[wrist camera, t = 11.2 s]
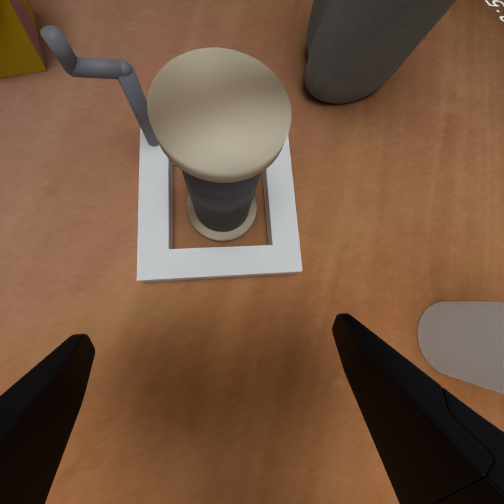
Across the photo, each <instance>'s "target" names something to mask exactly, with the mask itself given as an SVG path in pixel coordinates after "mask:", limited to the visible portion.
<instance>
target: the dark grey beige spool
mask: <svg viewBox="0 0 504 504" xmlns="http://www.w3.org/2000/svg"><path fill="white" fill-rule="evenodd" d="M147 111H148V117H149V121H150V124H151V126H152V129H153V131H154V134H155V136H156V139H157V141H158V143H159V146H160V147H161V149H162V151H163V152H164V154H165V155H166V156H167V157H168V159H169V160H170V161H171V162H172V163H174V164H175V165H176V166H177V167H178V168H180V169H181V170H182V172H183V175H184V179H185V182H186V185H187V188H188V191H189V195H188V198H187V206H186V207H187V214H188V217H189V219H190V222H191V224H192V226H193V227H194V228H195V230H196V231H197V232H198V233H199V234H200V235H202V236H203V237H205V238H207V239H209V240H212V241H216V242H229V241H233V240H235V239H238V238H240V237H241V236H243V235H244V234H245V233H246V232H247V231H248V230H249V229H250V227H251V226H252V224H253V221H254V219H255V216H256V211H257V204H256V199H255V196H254V194H255V190H256V187H257V184H258V180H259V177H260V174H261V172H263V171H264V170H266V169H267V168H268V167H269V166H270V165H271V164H272V163H273V162H274V161H275V160H276V158H277V157H278V155H279V154H280V152H281V150H282V147H283V145H284V142H285V140H286V137H287V135H288V132H289V129H290V125H291V105H290V101H289V97H288V95H287V92H286V90H285V88H284V86H283V84H282V83H281V81H280V80H279V79H278V77H277V76H276V75H275V74H274V73H273V72H272V71H271V70H270V69H269V68H268V67H267V66H266V65H264V64H263V63H261V62H260V61H258V60H257V59H255V58H253V57H251V56H249V55H247V54H244V53H242V52H238V51H235V50H231V49H226V48H202V49H196V50H192V51H189V52H186V53H183V54H181V55H179V56H177V57H175V58H174V59H172V60H171V61H169V62H168V63H167V64H166V65H165V66H164V67H162V68H161V70H160V71H159V72H158V73H157V75H156V76H155V78H154V80H153V81H152V84H151V86H150V89H149V93H148V97H147Z"/></svg>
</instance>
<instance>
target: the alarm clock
mask: <svg viewBox="0 0 504 504" xmlns="http://www.w3.org/2000/svg"><path fill="white" fill-rule="evenodd" d="M43 71H47V70H46V65H45V61H44V57H43V52H42V48H41V43H40V39H39V35H38V30H37V26H36V22H35V17H34V13H33V10H32V8H31V6H30V4H29V2H28V0H0V78H1V77H8V76H15V75H22V74H29V73H36V72H43Z"/></svg>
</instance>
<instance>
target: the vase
mask: <svg viewBox="0 0 504 504" xmlns="http://www.w3.org/2000/svg"><path fill="white" fill-rule="evenodd" d="M455 1H456V0H314V2H313V6H312V11H311V15H310V20H309V25H308V30H307V50H308V57H309V58H308V61H307V65H306V68H305V76H304V79H305V85H306V88H307V90H308V91H309V92H310V94H311V95H313V96H314V97H315V98H317V99H318V100H321V101H323V102H327V103H337V104H340V103H348V102H352V101H356V100H359V99H361V98H363V97H365V96H367V95H369V94H371V93H372V92H374V91H375V90H377V89H378V88H379V87H380V86H382V85H383V84H384V83H385V82H386V81H387V80H388V79H389V78H390V77H391V76H392V75H393V73H394V72H395V71H396V70H397V69H398V68H399V66H400V65H401V64H402V63H403V62H404V61H405V59H406V58H407V57H408V56H409V55H410V53H411V52H412V51H413V50H414V49H415V48H416V46H417V45H418V44H419V43H420V42H421V41H422V39H423V38H424V37H425V36H426V35H427V34H428V32H429V31H430V30H431V29H432V28H433V27H434V25H435V24H436V23H437V22H438V21H439V20H440V19H441V17H442V16H443V15H444V14H445V13H446V12H447V10H448V9H449V8H450V7H451V6H452V5H453V3H454V2H455Z"/></svg>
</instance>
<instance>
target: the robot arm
mask: <svg viewBox="0 0 504 504" xmlns="http://www.w3.org/2000/svg"><path fill="white" fill-rule="evenodd" d="M332 332H333V336H334V339H335V343H336V346H337V349H338V352H339V356H340V359H341V362H342V365H343V368H344V371H345V374H346V377H347V379H348V381H349V384H350V386H351V389H352V391H353V393H354V396H355V398H356V401H357V403H358V405H359V408H360V410H361V412H362V415H363V417H364V420H365V422H366V424H367V427H368V429H369V431H370V434H371V436H372V439H373V441H374V443H375V446H376V448H377V451H378V453H379V455H380V458H381V460H382V462H383V465H384V467H385V470H386V472H387V474H388V477H389V479H390V481H391V484H392V486H393V489H394V491H395V493H396V496H397V498H398V501H399V503H400V504H504V432H503V431H501V430H500V429H498V428H497V427H496V426H494V425H493V424H491V423H490V422H489V421H487V420H486V419H484V418H483V417H482V416H480V415H479V414H477V413H476V412H475V411H473V410H472V409H471V408H469V407H468V406H467V405H465V404H464V403H463V402H461V401H460V400H459V399H457V398H456V397H455V396H454V395H452V394H451V393H450V392H448V391H447V390H446V389H445V388H443V387H442V388H441V385H439V384H438V383H437V382H436V381H434V380H433V379H432V378H430V377H429V376H428V375H427V374H425V373H424V372H423V371H421V370H420V369H419V368H418V367H416V366H415V365H414V364H413V363H411V362H410V361H409V360H407V359H406V358H405V357H404V356H402V355H401V354H400V353H398V352H397V351H396V350H395V349H393V348H392V347H391V346H390V345H388V344H387V343H386V342H384V341H383V340H382V339H381V338H379V337H378V336H377V335H375V334H374V333H373V332H372V331H370V330H369V329H368V328H366V327H365V326H364V325H363V324H361V323H360V322H359V321H358V320H356V319H355V318H354V317H352V316H351V315H350V314H348V313H342V314H338V315H337V316H336V318H335V321H334V324H333V327H332ZM94 356H95V348H94V346H93V344H92V342H91V340H90V338H89V336H88V335H87V334H75V335H72V336H70V337H69V338H68V339H67V340H65V341H64V342H63V343H62V344H61V345H60V346H58V347H57V348H56V349H55V350H54V351H53V352H51V353H50V354H49V355H48V356H47V357H45V358H44V359H43V360H42V361H41V362H40V363H38V364H37V365H36V366H35V367H34V368H33V369H31V370H30V371H29V372H28V373H27V374H26V375H24V376H23V377H22V378H21V379H20V380H19V381H17V382H16V383H15V384H14V385H13V386H11V387H10V388H9V389H8V390H7V391H6V392H4V393H3V394H2V395H1V396H0V504H45V502H46V499H47V496H48V494H49V491H50V488H51V486H52V483H53V480H54V477H55V475H56V472H57V469H58V467H59V464H60V461H61V459H62V456H63V453H64V450H65V448H66V445H67V442H68V440H69V437H70V434H71V432H72V429H73V426H74V424H75V421H76V418H77V415H78V413H79V410H80V407H81V404H82V401H83V398H84V395H85V391H86V387H87V383H88V379H89V375H90V371H91V367H92V363H93V360H94Z"/></svg>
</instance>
